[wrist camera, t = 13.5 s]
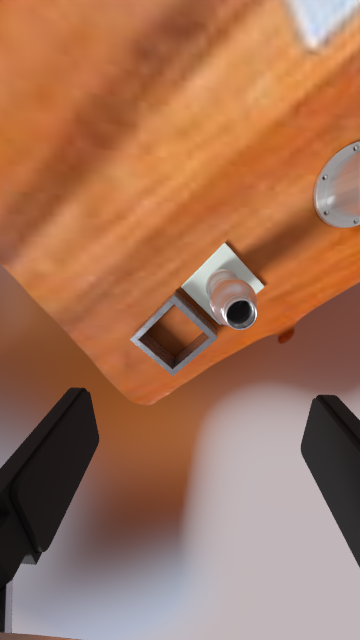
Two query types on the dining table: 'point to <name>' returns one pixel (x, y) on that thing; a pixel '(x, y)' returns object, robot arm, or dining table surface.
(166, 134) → the dining table surface
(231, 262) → the mat
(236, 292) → the plastic bottle
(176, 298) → the steel collar
